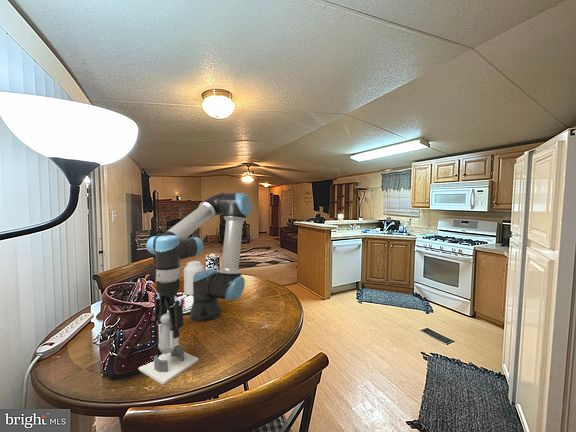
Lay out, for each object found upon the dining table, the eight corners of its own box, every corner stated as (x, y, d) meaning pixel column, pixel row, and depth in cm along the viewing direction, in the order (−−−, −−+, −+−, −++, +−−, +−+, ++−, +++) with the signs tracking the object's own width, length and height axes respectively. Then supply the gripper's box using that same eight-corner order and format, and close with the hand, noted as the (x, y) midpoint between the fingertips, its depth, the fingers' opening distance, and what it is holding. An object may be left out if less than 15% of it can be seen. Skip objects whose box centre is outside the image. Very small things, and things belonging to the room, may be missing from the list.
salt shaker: (157, 357, 82) (156, 319, 81) (159, 348, 87) (158, 312, 87) (176, 353, 84) (176, 316, 84) (176, 344, 89) (176, 310, 89)
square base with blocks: (138, 369, 84) (138, 358, 84) (174, 349, 96) (174, 338, 96) (162, 385, 77) (162, 372, 77) (198, 360, 89) (198, 349, 89)
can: (208, 289, 163) (207, 260, 162) (197, 296, 151) (196, 265, 150) (191, 288, 166) (191, 259, 165) (179, 294, 153) (179, 263, 153)
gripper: (142, 278, 86) (143, 340, 87) (175, 287, 77) (176, 357, 78) (161, 273, 93) (162, 331, 94) (194, 281, 84) (195, 345, 85)
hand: (168, 343), depth 86 cm, fingers closed on salt shaker, 6 cm apart
